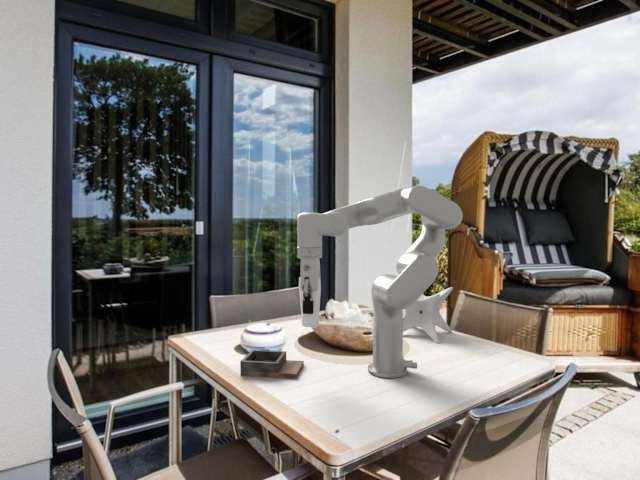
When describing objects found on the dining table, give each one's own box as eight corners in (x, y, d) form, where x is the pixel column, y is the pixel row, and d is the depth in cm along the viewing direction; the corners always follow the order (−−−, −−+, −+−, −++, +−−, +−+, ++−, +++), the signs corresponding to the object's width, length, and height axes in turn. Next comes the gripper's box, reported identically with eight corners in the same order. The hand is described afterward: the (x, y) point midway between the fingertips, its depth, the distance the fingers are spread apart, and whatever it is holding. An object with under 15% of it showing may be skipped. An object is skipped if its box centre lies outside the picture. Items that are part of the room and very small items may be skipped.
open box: (303, 365, 144) (303, 352, 143) (296, 378, 132) (296, 364, 131) (252, 362, 146) (252, 349, 146) (240, 375, 134) (240, 361, 134)
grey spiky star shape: (452, 332, 186) (453, 287, 185) (438, 343, 169) (439, 294, 168) (408, 326, 196) (408, 283, 195) (391, 336, 179) (392, 289, 178)
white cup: (318, 328, 127) (318, 278, 127) (296, 327, 129) (296, 278, 128) (323, 323, 134) (322, 275, 133) (302, 322, 135) (301, 275, 135)
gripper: (317, 255, 121) (317, 318, 122) (325, 250, 138) (325, 305, 139) (291, 255, 122) (292, 317, 123) (303, 250, 139) (303, 305, 140)
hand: (310, 310), depth 131 cm, fingers closed on white cup, 6 cm apart
